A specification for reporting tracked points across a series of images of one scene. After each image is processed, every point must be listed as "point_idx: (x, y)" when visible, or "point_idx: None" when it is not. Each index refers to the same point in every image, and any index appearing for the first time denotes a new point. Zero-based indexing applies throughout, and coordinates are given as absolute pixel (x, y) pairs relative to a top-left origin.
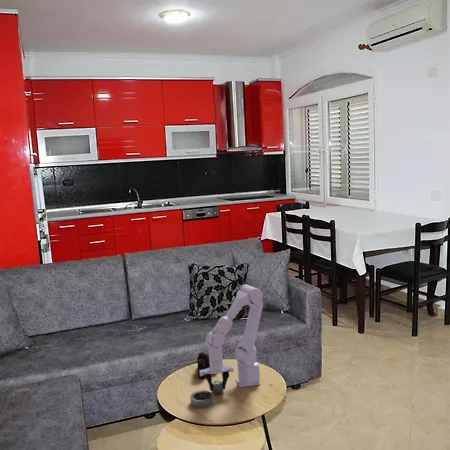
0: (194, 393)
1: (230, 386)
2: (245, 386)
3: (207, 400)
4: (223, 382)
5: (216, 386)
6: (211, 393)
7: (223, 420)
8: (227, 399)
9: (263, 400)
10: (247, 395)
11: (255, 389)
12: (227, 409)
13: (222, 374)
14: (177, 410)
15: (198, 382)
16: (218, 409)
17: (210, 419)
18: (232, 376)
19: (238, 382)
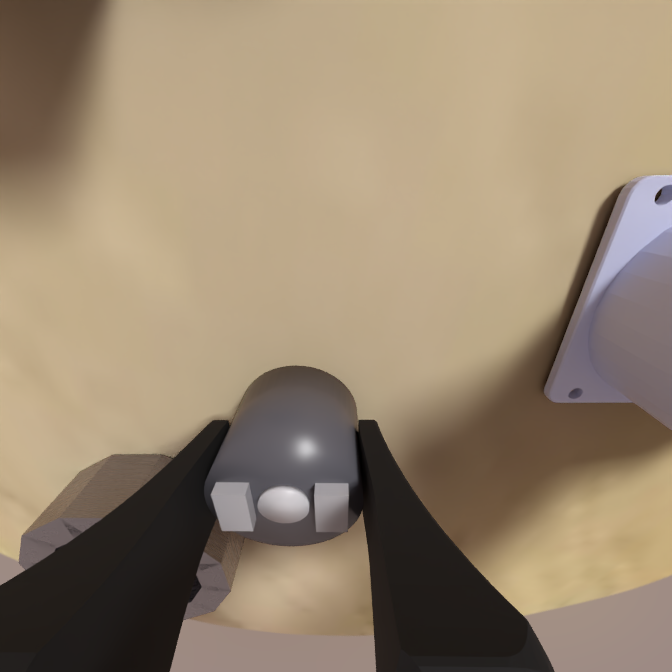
0: (44, 540)
1: (459, 343)
2: (605, 399)
3: (192, 614)
4: (368, 525)
5: (269, 542)
6: (220, 566)
7: (298, 631)
8: (361, 514)
9: (589, 563)
10: (528, 504)
11: (652, 450)
12: (335, 584)
13: (385, 621)
14: (8, 543)
15: (9, 88)
16: (281, 577)
17: (233, 619)
18: (646, 4)
19: (592, 312)
